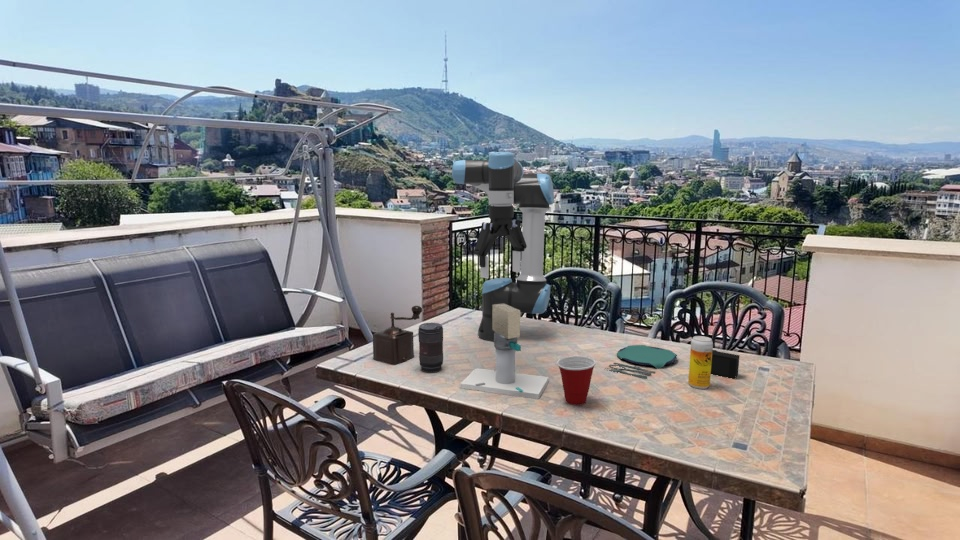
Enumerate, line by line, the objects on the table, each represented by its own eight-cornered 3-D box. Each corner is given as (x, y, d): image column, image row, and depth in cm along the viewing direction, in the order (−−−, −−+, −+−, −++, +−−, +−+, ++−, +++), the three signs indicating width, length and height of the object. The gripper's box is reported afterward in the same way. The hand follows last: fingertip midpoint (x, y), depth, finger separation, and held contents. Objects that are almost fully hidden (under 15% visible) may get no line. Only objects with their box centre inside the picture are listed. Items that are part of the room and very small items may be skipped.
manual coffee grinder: (395, 365, 176) (394, 314, 173) (372, 359, 183) (370, 309, 180) (425, 353, 189) (424, 305, 186) (403, 348, 195) (402, 301, 192)
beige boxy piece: (487, 343, 161) (488, 305, 159) (507, 340, 164) (508, 303, 162) (508, 355, 149) (508, 314, 147) (529, 352, 152) (530, 312, 150)
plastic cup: (553, 393, 154) (554, 354, 152) (590, 393, 153) (592, 354, 151) (557, 409, 143) (559, 367, 141) (597, 409, 143) (599, 367, 141)
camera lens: (414, 371, 172) (413, 326, 169) (427, 363, 179) (427, 321, 176) (435, 375, 168) (434, 330, 165) (448, 367, 175) (447, 324, 172)
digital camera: (739, 374, 169) (740, 354, 168) (735, 379, 165) (737, 358, 164) (705, 368, 175) (706, 348, 174) (700, 372, 171) (702, 352, 170)
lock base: (475, 372, 170) (475, 337, 168) (548, 381, 163) (549, 344, 161) (460, 388, 157) (459, 350, 155) (538, 399, 149) (539, 359, 147)
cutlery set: (684, 357, 186) (685, 351, 185) (651, 383, 163) (651, 376, 163) (631, 347, 198) (631, 341, 198) (593, 369, 176) (594, 363, 175)
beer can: (700, 391, 156) (703, 342, 153) (683, 384, 161) (687, 337, 158) (714, 387, 158) (717, 339, 156) (697, 380, 164) (700, 334, 161)
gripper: (478, 207, 145) (478, 282, 149) (538, 203, 162) (537, 271, 166) (461, 206, 151) (462, 278, 155) (520, 202, 167) (520, 267, 171)
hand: (501, 274), depth 160 cm, fingers open, 13 cm apart
